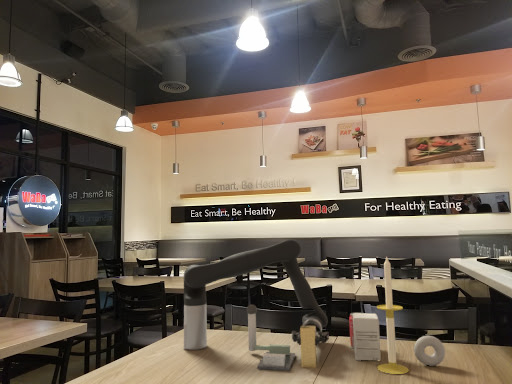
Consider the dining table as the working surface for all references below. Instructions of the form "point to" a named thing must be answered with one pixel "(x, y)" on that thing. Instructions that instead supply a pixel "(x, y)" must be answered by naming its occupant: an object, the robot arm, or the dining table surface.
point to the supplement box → (366, 336)
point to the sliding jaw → (252, 335)
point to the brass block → (308, 346)
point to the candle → (390, 326)
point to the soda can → (351, 330)
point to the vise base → (288, 364)
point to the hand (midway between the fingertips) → (307, 342)
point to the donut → (432, 359)
